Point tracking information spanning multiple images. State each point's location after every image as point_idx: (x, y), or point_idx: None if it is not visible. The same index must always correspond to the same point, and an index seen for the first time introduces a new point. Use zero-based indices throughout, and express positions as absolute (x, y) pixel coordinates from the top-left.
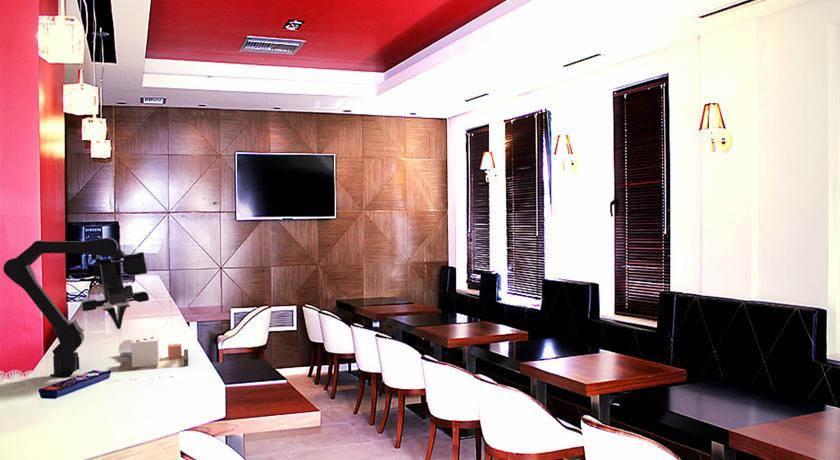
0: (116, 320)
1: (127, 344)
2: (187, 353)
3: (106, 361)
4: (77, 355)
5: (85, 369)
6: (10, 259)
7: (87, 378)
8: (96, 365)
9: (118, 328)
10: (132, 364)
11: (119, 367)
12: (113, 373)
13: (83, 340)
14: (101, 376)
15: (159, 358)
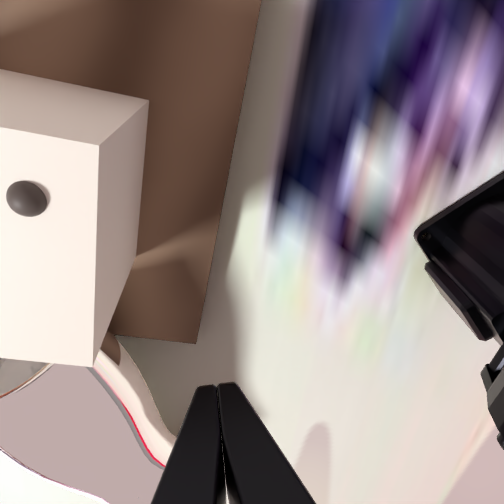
0: (263, 501)
1: (152, 477)
2: None
3: None
4: (486, 302)
5: (372, 315)
6: None
7: (441, 47)
8: (309, 372)
9: (225, 384)
10: (142, 101)
11: (229, 158)
12: (271, 111)
13: (488, 409)
14: (354, 55)
15: None
